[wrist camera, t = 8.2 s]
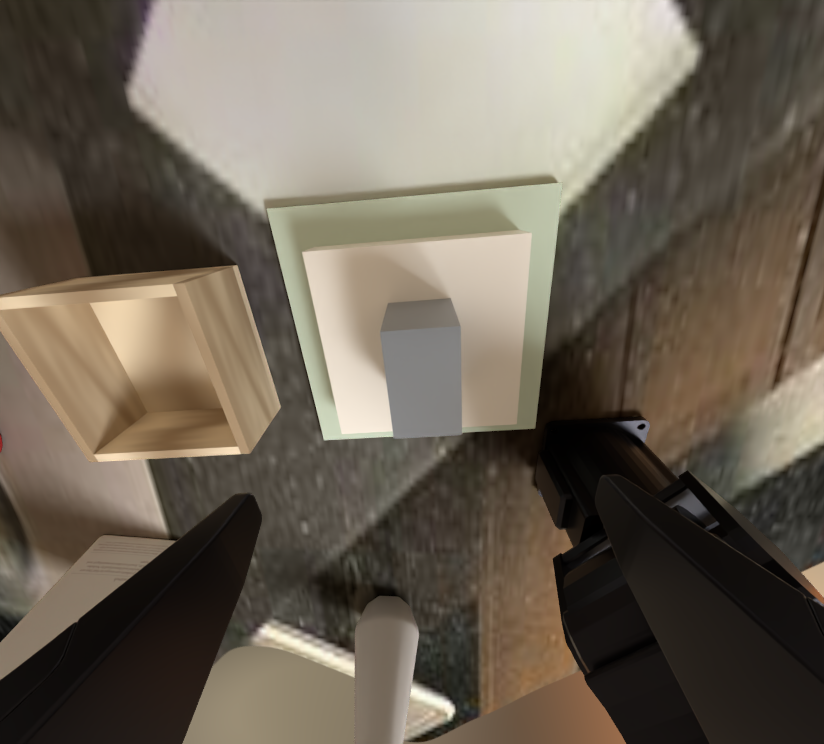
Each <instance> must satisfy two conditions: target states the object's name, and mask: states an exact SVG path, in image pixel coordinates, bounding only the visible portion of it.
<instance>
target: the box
mask: <svg viewBox="0 0 824 744" xmlns="http://www.w3.org/2000/svg"><path fill="white" fill-rule="evenodd" d="M0 331H1V333H2V334H3V336H4V337H5V339H6V340H7V342H8V343H9V344H10V346H11V347H12V349H13V350H14V352H15V353H16V355H17V356H18V358H19V359H20V361H21V362H22V364H23V365H24V366H25V368H26V369H27V371H28V372H29V374H30V375H31V377H32V378H33V380H34V381H35V383H36V384H37V386H38V387H39V389H40V390H41V391H42V393H43V394H44V396H45V397H46V399H47V400H48V402H49V403H50V405H51V406H52V408H53V409H54V411H55V412H56V413H57V415H58V416H59V418H60V419H61V421H62V422H63V424H64V425H65V427H66V428H67V430H68V431H69V433H70V434H71V436H72V437H73V438H74V440H75V441H76V443H77V444H78V446H79V447H80V449H81V450H82V452H83V453H84V455H85V456H86V458H87V459H88V461H89V462H102V461H120V460H139V459H157V458H176V457H194V456H212V455H231V454H249V453H251V451H252V450H253V448H254V447H255V445H256V444H257V442H258V441H259V439H260V438H261V436H262V435H263V433H264V432H265V430H266V429H267V427H268V426H269V424H270V423H271V421H272V420H273V418H274V417H275V415H276V414H277V412H278V411H279V409H280V408H281V406H280V402H279V399H278V396H277V393H276V389H275V386H274V383H273V380H272V376H271V373H270V370H269V367H268V363H267V360H266V357H265V354H264V350H263V347H262V344H261V341H260V337H259V334H258V331H257V328H256V324H255V321H254V318H253V315H252V311H251V308H250V305H249V301H248V298H247V295H246V292H245V288H244V285H243V282H242V279H241V275H240V272H239V269H238V266H237V265H231V266H219V267H206V268H194V269H182V270H169V271H157V272H145V273H133V274H120V275H108V276H96V277H83V278H75V279H70V280H65V281H61V282H56V283H52V284H47V285H43V286H38V287H33V288H29V289H24V290H20V291H15V292H11V293H6V294H1V295H0Z"/></svg>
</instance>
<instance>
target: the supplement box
mask: <svg viewBox="0 0 824 744" xmlns="http://www.w3.org/2000/svg"><path fill="white" fill-rule="evenodd" d="M174 542H175V541H173V540H161V539H150V538H139V537H125V536H113V535H103V536H100V537H99V538H98V539H97V540H96V541H95V542H94V543H93V544H92V546H91V547H90V548H89V549H88V550H87V551H86V552H85V553H84V554H83V555H82V556H81V557H80V558H79V559H78V560H77V561H76V563H75V564H74V565H73V566H72V567H71V568H70V569H69V570H68V571H67V572H66V573H65V574H64V575H63V576H62V577H61V579H60V580H59V581H58V582H57V583H56V584H55V585H54V586H53V587H52V588H51V589H50V590H49V591H48V592H47V593H46V595H45V596H44V597H43V598H42V599H41V600H40V601H39V602H38V603H37V604H36V605H35V606H34V607H33V608H32V609H31V611H30V612H29V613H28V614H27V615H26V616H25V617H24V618H23V619H22V620H21V621H20V622H19V623H18V624H17V625H16V627H15V628H14V629H13V630H12V631H11V632H10V633H9V634H8V635H7V636H6V637H5V638H4V639H3V640H2V641H1V643H0V680H1V679H2V678H3V677H5V676H6V675H8V674H9V673H10V672H12V671H13V670H14V669H16V668H17V667H18V666H19V665H21V664H22V663H23V662H25V661H26V660H27V659H28V658H30V657H31V656H32V655H33V654H35V653H36V652H37V651H39V650H40V649H41V648H42V647H44V646H45V645H46V644H48V643H49V642H50V641H51V640H53V639H54V638H55V637H56V636H58V635H59V634H60V633H61V632H63V631H64V630H65V629H66V628H68V627H69V626H70V625H71V624H73V623H74V622H78V620H79V618H80V617H82V616H83V615H84V614H85V613H87V612H88V611H89V610H90V609H92V608H93V607H94V606H95V605H97V604H98V603H99V602H100V601H102V600H103V599H104V598H105V597H107V596H108V595H109V594H110V593H112V592H113V591H114V590H115V589H117V588H118V587H119V586H120V585H122V584H123V583H124V582H125V581H127V580H128V579H129V578H130V577H132V576H133V575H134V574H135V573H137V572H138V571H139V570H140V569H142V568H143V567H144V566H145V565H147V564H148V563H149V562H150V561H152V560H153V559H154V558H155V557H157V556H158V555H159V554H160V553H162V552H163V551H164V550H165V549H167V548H168V547H169V546H170V545H172V544H173V543H174Z"/></svg>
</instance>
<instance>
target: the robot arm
mask: <svg viewBox="0 0 824 744" xmlns="http://www.w3.org/2000/svg"><path fill="white" fill-rule="evenodd" d="M640 424H641V425H640ZM638 425H639V426H638ZM649 426H650V424H649V422H648V421H647V420H646V419H645V418H643V417H626V418H608V419H591V420H573V421H555V422H550V423H548V424H547V425H546V427H545V431H544V439H543V447H542V450H541V451H540V452H539V453H538V460H537V468H536V477H535V480H536V483H537V485H538V486H537V491H538V493H539V495H540V496H541V497H543V499H544V501H545V503H546V506H547V508H548V510H549V513H550V515H551V517H552V520H553V522H554V524H555V526H556V527H557V528H558V529H560V530H561V529H565V530H566V532H567V534H568V536H569V539H570V541H571V543H572V545H573V548H571V549H570V550H568V551H567V552H565V553H564V554H561V553H560V554H559V555H557V556H556V557H554V558H553V564H554V571H555V578H556V585H557V592H558V599H559V606H560V613H561V620H562V626H563V630H564V634H565V640H566V643H567V645H568V647H569V649H570V650H571V652H572V654H573V657H574V658H575V660H576V662H577V664H578V666H579V667H580V669H581V671H582V672H583V674H584V677H585V681H586V683H587V685H588V686H589V687H590V689H591V690H592V692H593V693H594V694H595V696H596V697H597V698H598V699H599V701H600V702H601V703H602V705H603V706H604V707H605V709H606V710H607V712H608V714H609V715H610V717H611V719H612V720H613V722H614V723H615V725H616V727H617V728H618V730H619V732H620V733H621V734H622V736H623V738H624V740H625V742H626V744H824V597H823V596H822V595H821V594H820V593H819V592H818V591H817V590H816V589H815V587H814V586H813V585H812V584H811V583H810V582H809V581H808V580H807V579H806V578H805V576H804V575H803V574H802V573H801V572H800V571H799V570H798V569H797V567H796V566H795V565H794V564H793V563H792V562H791V561H790V560H789V559H788V557H787V556H786V555H785V554H784V553H783V552H782V551H781V550H780V549H779V548H778V547H777V546H776V545H775V544H773V543H772V542H771V541H770V540H769V539H768V538H767V537H766V536H765V535H764V534H763V533H762V532H761V531H759V530H758V529H757V528H756V527H755V526H754V525H753V524H752V523H751V522H750V521H749V520H748V519H746V518H745V517H744V516H743V515H742V514H741V513H740V512H739V511H738V510H737V509H735V508H734V507H733V506H732V505H730V504H729V503H728V502H727V501H726V500H724V499H723V498H722V497H721V496H719V495H718V494H717V493H716V492H714V491H713V490H712V489H711V488H709V487H708V486H707V485H706V484H705V483H703V482H702V481H701V480H700V479H698V478H697V477H696V476H695V475H693V474H692V473H691V472H690V471H688V470H687V471H686V472H684V473H683V474H681V475H680V476H678V477H679V479H678V478H677V477H676V476H675V475H674V474H673V473H672V472H671V471H670V470H669V469H668V468H667V467H666V465H665V464H664V463H663V462H662V461H661V460H660V459H659V458H658V457H657V456H656V455H655V454H654V453H653V452H652V451H651V450H650V449H649V448H648V447H647V446H646V444H645V440H646V436H647V433H648V430H649ZM554 428H556V429H555V430H554V431H551V430H552V429H554ZM261 522H262V514H261V511H260V509H259V506H258V504H257V502H256V499H255V497H254V495H253V494H252V493H237V494H235V495H233V496H232V497H231V498H229V499H228V500H227V501H226V502H224V503H223V504H222V505H221V506H219V507H218V508H217V509H216V510H214V511H213V512H212V513H211V514H209V515H208V516H207V517H206V518H204V519H203V520H202V521H201V522H199V523H198V524H197V525H196V526H194V527H193V528H192V529H190V530H189V531H188V532H187V533H185V534H184V535H183V536H182V537H180V538H179V539H178V540H177V541H175V542H174V543H173V544H172V545H170V546H169V547H168V548H167V549H165V550H164V551H163V552H162V553H160V554H159V555H158V556H157V557H155V558H154V559H153V560H152V561H150V562H149V563H148V564H147V565H145V566H144V567H143V568H142V569H140V570H139V571H138V572H137V573H135V574H134V575H133V576H132V577H130V578H129V579H128V580H127V581H125V582H124V583H123V584H122V585H120V586H119V587H118V588H117V589H115V590H114V591H113V592H112V593H110V594H109V595H108V596H107V597H105V598H104V599H103V600H102V601H100V602H99V603H98V604H97V605H95V606H94V607H93V608H92V609H90V610H89V611H88V612H87V613H85V614H84V615H83V616H82V617H80V618H79V620H78V622H74V623H73V624H71V625H70V626H69V627H68V628H66V629H65V630H64V631H63V632H61V633H60V634H59V635H58V636H56V637H55V638H54V639H53V640H51V641H50V642H49V643H48V644H46V645H45V646H44V647H42V648H41V649H40V650H39V651H37V652H36V653H35V654H33V655H32V656H31V657H30V658H28V659H27V660H26V661H25V662H23V663H22V664H21V665H19V666H18V667H17V668H16V669H14V670H13V671H12V672H10V673H9V674H8V675H6V676H5V677H3V678H2V679H1V680H0V744H182V743H183V741H184V738H185V736H186V733H187V730H188V728H189V725H190V722H191V720H192V717H193V715H194V712H195V710H196V707H197V705H198V702H199V699H200V697H201V694H202V692H203V689H204V686H205V684H206V681H207V679H208V676H209V674H210V671H211V668H212V666H213V663H214V661H215V658H216V655H217V653H218V650H219V648H220V645H221V643H222V640H223V637H224V635H225V632H226V630H227V627H228V624H229V622H230V619H231V617H232V614H233V611H234V609H235V606H236V604H237V601H238V599H239V596H240V593H241V591H242V588H243V585H244V582H245V579H246V576H247V572H248V569H249V565H250V562H251V558H252V555H253V551H254V547H255V544H256V540H257V537H258V533H259V530H260V526H261Z"/></svg>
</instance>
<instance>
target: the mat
mask: <svg viewBox="0 0 824 744" xmlns="http://www.w3.org/2000/svg"><path fill="white" fill-rule="evenodd" d="M562 185H563V182H561V183H550V184H539V185H527V186H516V187H505V188H494V189H482V190H471V191H460V192H449V193H438V194H426V195H415V196H404V197H393V198H381V199H370V200H359V201H348V202H336V203H325V204H314V205H303V206H292V207H280V208H269V209H267V213H268V217H269V221H270V225H271V229H272V233H273V237H274V241H275V245H276V249H277V253H278V257H279V261H280V266H281V270H282V274H283V278H284V282H285V286H286V290H287V294H288V298H289V302H290V306H291V310H292V314H293V318H294V322H295V326H296V330H297V334H298V338H299V342H300V346H301V350H302V354H303V358H304V362H305V366H306V370H307V374H308V378H309V382H310V386H311V390H312V394H313V398H314V402H315V406H316V410H317V414H318V418H319V422H320V426H321V430H322V434H323V438H324V440H338V439H356V438H374V437H392V436H393V431H389V432H372V433H354V434H342V433H341V428H340V424H339V419H338V415H337V410H336V406H335V401H334V396H333V392H332V387H331V383H330V378H329V373H328V369H327V364H326V360H325V355H324V350H323V346H322V341H321V337H320V332H319V327H318V323H317V318H316V314H315V309H314V305H313V300H312V295H311V291H310V286H309V282H308V277H307V272H306V268H305V263H304V259H303V254H302V252H303V251H306V250H308V249H310V248H313V247H319V246H331V245H343V244H354V243H366V242H378V241H390V240H402V239H414V238H426V237H438V236H450V235H462V234H474V233H486V232H498V231H510V230H522V231H526V232H530V233H532V239H531V252H530V264H529V277H528V290H527V302H526V315H525V327H524V340H523V352H522V365H521V377H520V390H519V402H518V415H517V424H513V425H495V426H478V427H462V433H464V432H482V431H500V430H518V429H535V426H536V417H537V408H538V399H539V390H540V381H541V372H542V364H543V355H544V346H545V337H546V328H547V319H548V310H549V301H550V292H551V283H552V274H553V266H554V257H555V248H556V239H557V230H558V221H559V212H560V203H561V194H562Z"/></svg>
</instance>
